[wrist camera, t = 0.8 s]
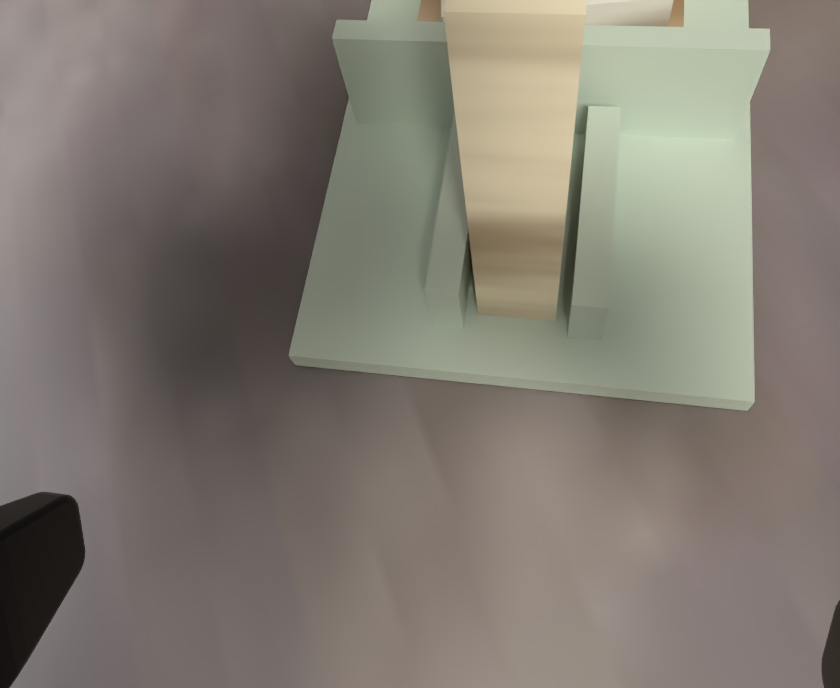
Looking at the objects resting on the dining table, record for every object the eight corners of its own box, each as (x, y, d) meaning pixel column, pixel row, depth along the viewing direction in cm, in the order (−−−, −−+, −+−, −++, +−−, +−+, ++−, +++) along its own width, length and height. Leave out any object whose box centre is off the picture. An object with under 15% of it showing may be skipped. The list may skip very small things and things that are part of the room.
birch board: (555, 321, 24) (585, 14, 13) (477, 314, 24) (443, 12, 13) (570, 161, 26) (606, -215, 15) (499, 157, 26) (485, -212, 15)
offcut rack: (747, 410, 23) (832, 310, 16) (294, 365, 25) (221, 261, 19) (742, -23, 29) (801, -210, 23) (384, -27, 32) (352, -198, 26)
